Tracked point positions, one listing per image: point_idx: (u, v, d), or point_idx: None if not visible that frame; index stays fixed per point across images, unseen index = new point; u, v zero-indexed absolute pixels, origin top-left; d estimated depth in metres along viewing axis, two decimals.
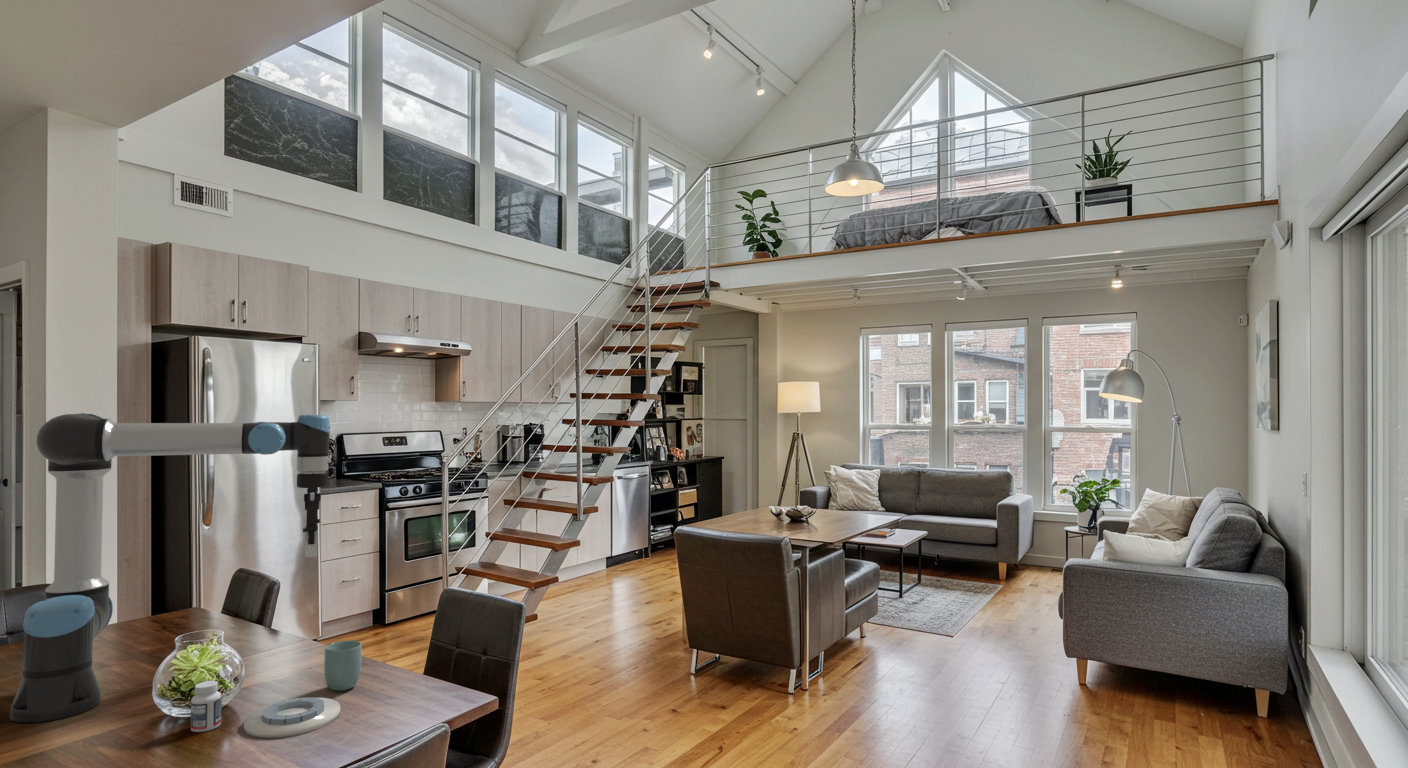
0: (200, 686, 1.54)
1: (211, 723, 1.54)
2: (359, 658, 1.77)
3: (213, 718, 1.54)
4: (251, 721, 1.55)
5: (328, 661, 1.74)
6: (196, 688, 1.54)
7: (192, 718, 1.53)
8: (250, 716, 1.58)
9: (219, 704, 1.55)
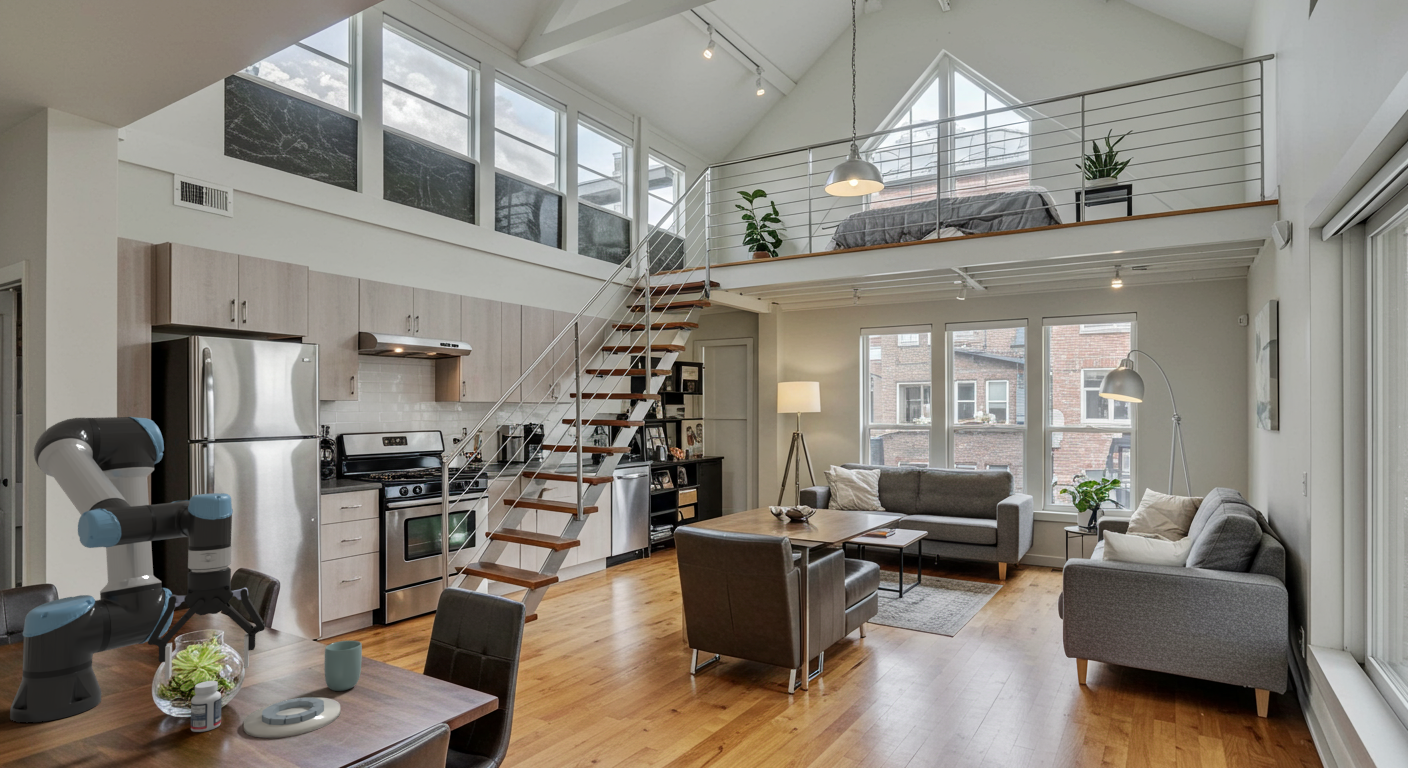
0: (200, 686, 1.54)
1: (211, 723, 1.54)
2: (359, 658, 1.77)
3: (213, 718, 1.54)
4: (251, 721, 1.55)
5: (328, 661, 1.74)
6: (196, 688, 1.54)
7: (192, 718, 1.53)
8: (250, 716, 1.58)
9: (219, 704, 1.55)
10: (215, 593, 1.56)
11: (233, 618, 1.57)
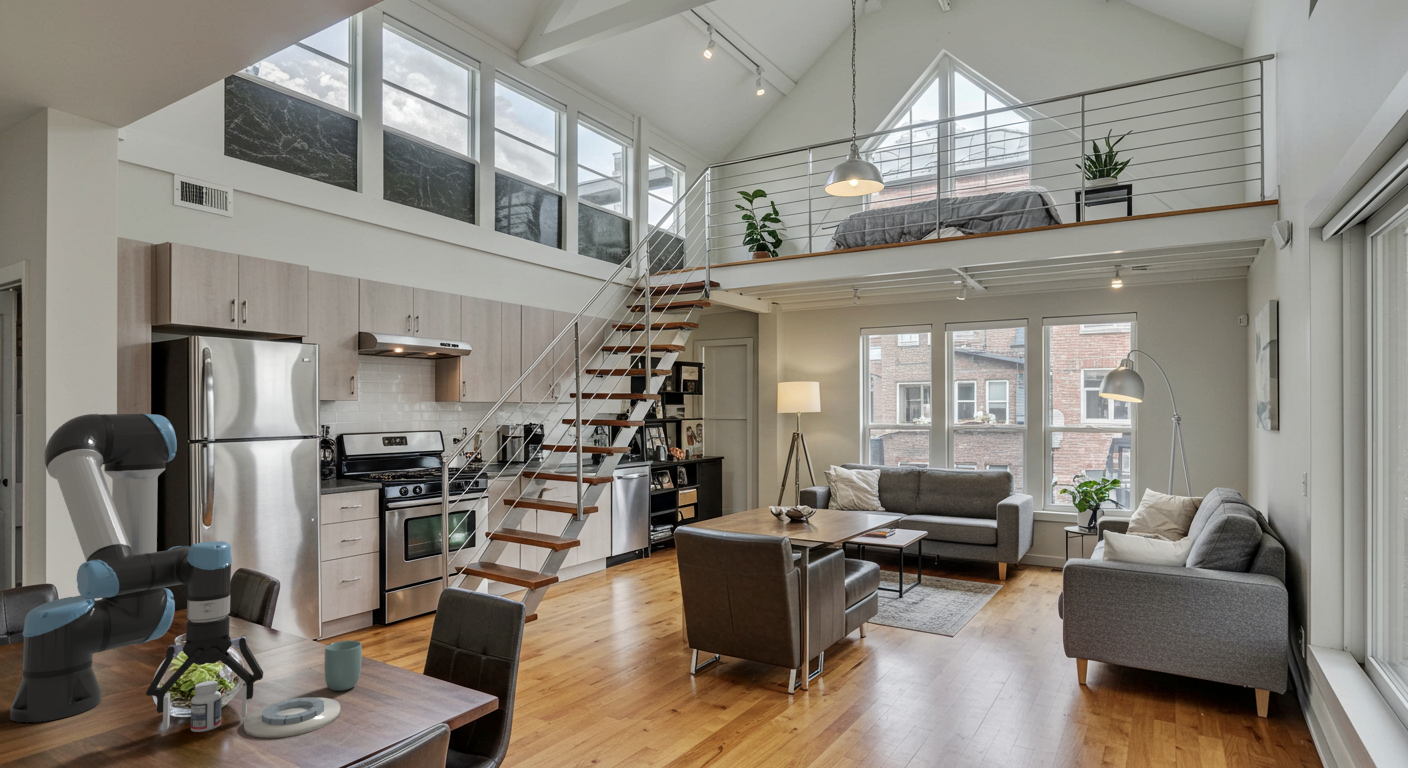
0: (200, 686, 1.54)
1: (211, 723, 1.54)
2: (359, 658, 1.77)
3: (213, 718, 1.54)
4: (251, 721, 1.55)
5: (328, 661, 1.74)
6: (196, 688, 1.54)
7: (192, 718, 1.53)
8: (250, 716, 1.58)
9: (219, 704, 1.55)
10: (214, 642, 1.55)
11: (231, 667, 1.56)
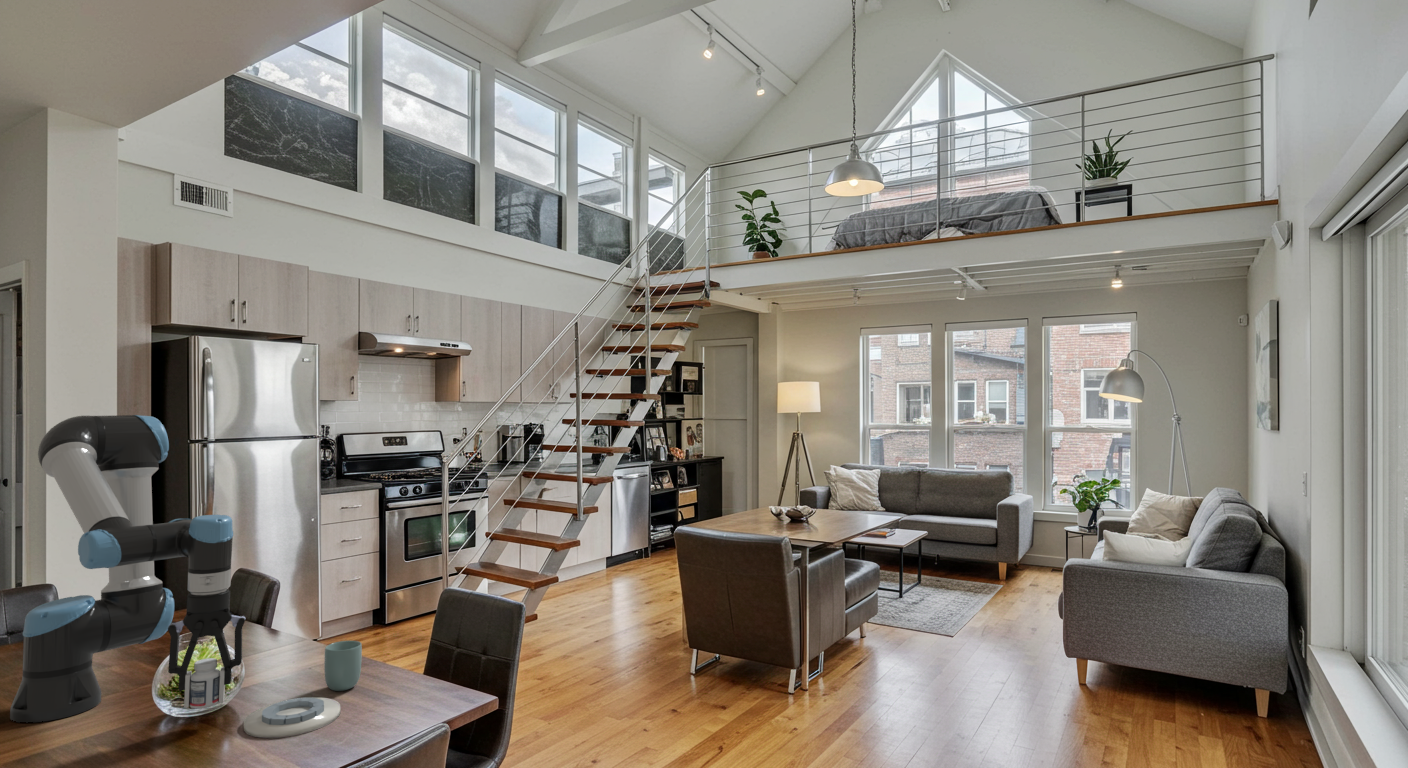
0: (199, 663, 1.54)
1: (210, 700, 1.54)
2: (359, 658, 1.77)
3: (212, 695, 1.55)
4: (251, 721, 1.55)
5: (328, 661, 1.74)
6: (195, 665, 1.54)
7: (191, 695, 1.53)
8: (250, 716, 1.58)
9: (218, 681, 1.56)
10: (217, 612, 1.56)
11: (219, 646, 1.56)
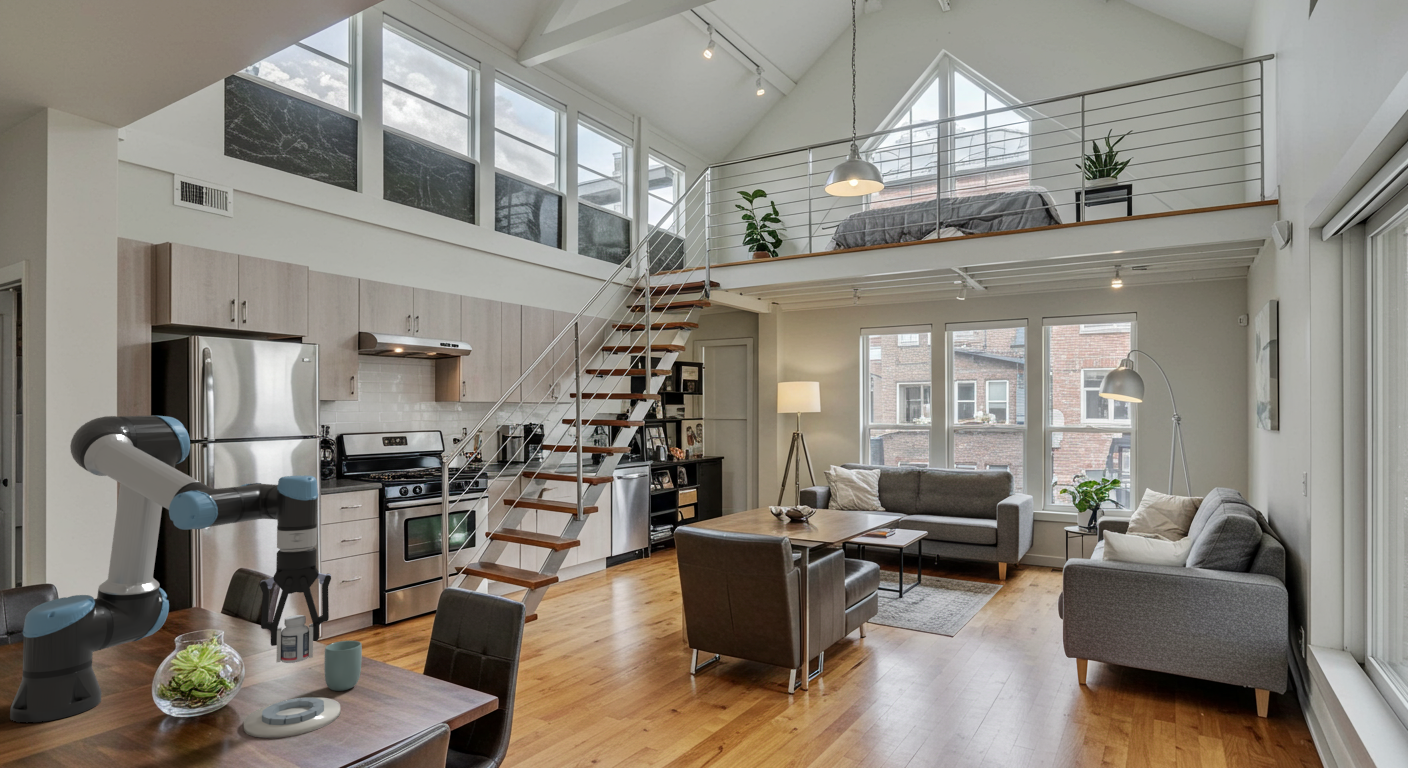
0: (289, 619, 1.58)
1: (300, 654, 1.58)
2: (359, 658, 1.77)
3: (303, 650, 1.58)
4: (251, 721, 1.55)
5: (328, 661, 1.74)
6: (286, 620, 1.58)
7: (283, 649, 1.57)
8: (250, 716, 1.58)
9: (307, 636, 1.60)
10: (305, 569, 1.60)
11: (308, 602, 1.60)
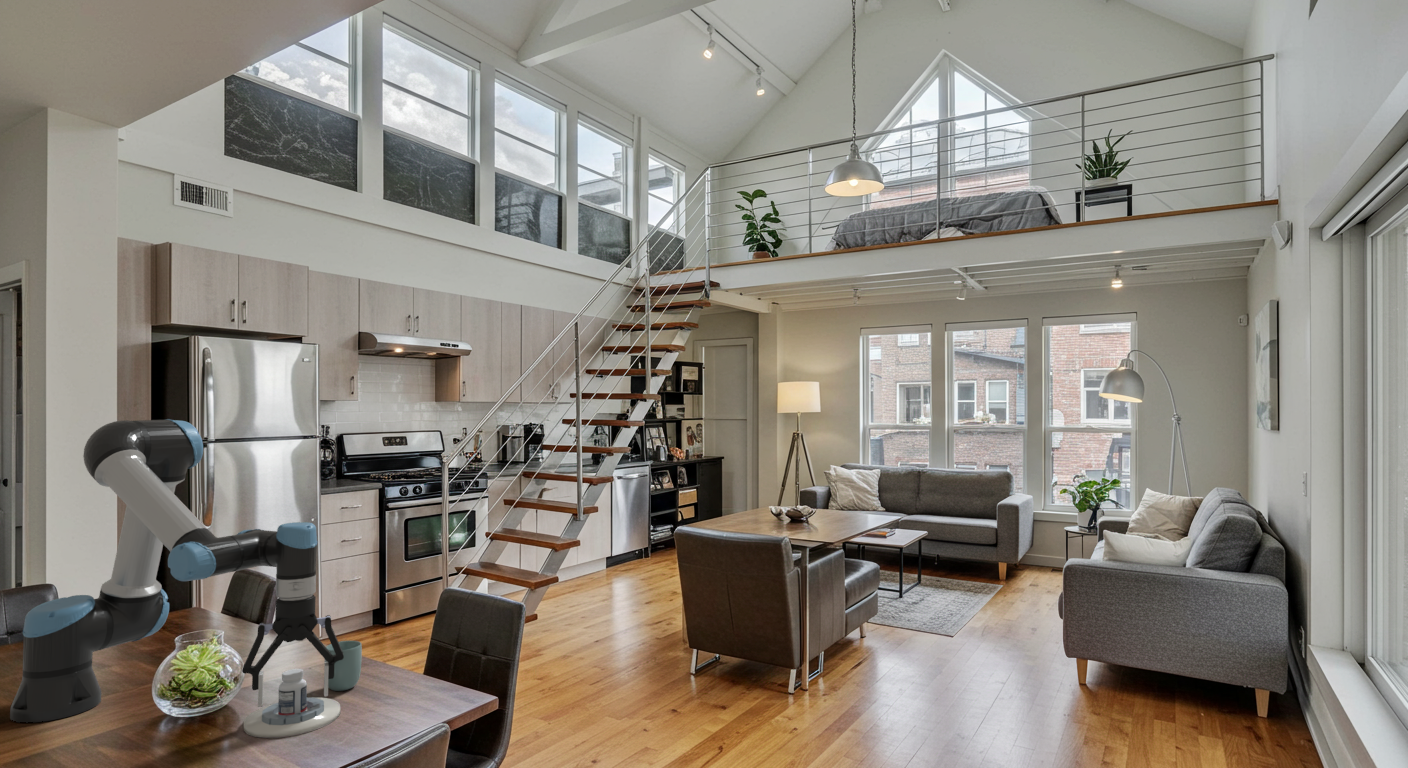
0: (287, 673, 1.58)
1: (298, 709, 1.57)
2: (359, 658, 1.77)
3: (300, 704, 1.58)
4: (251, 721, 1.55)
5: None
6: (284, 675, 1.57)
7: (280, 705, 1.57)
8: (250, 716, 1.58)
9: (305, 691, 1.59)
10: (301, 620, 1.59)
11: (316, 646, 1.60)
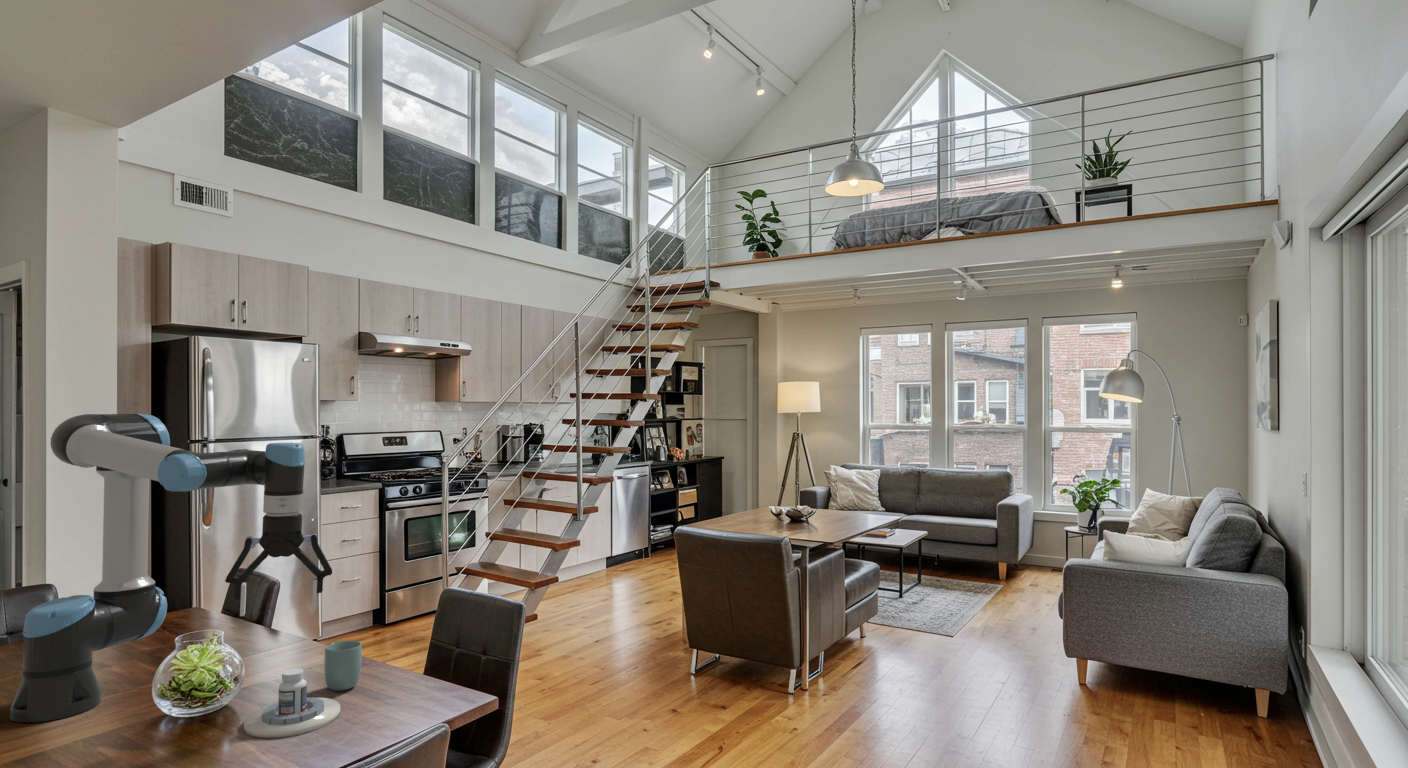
0: (287, 673, 1.58)
1: (298, 709, 1.57)
2: (359, 658, 1.77)
3: (300, 704, 1.58)
4: (251, 721, 1.55)
5: (328, 661, 1.74)
6: (284, 675, 1.57)
7: (280, 705, 1.57)
8: (250, 716, 1.58)
9: (305, 691, 1.59)
10: (288, 537, 1.63)
11: (303, 562, 1.64)
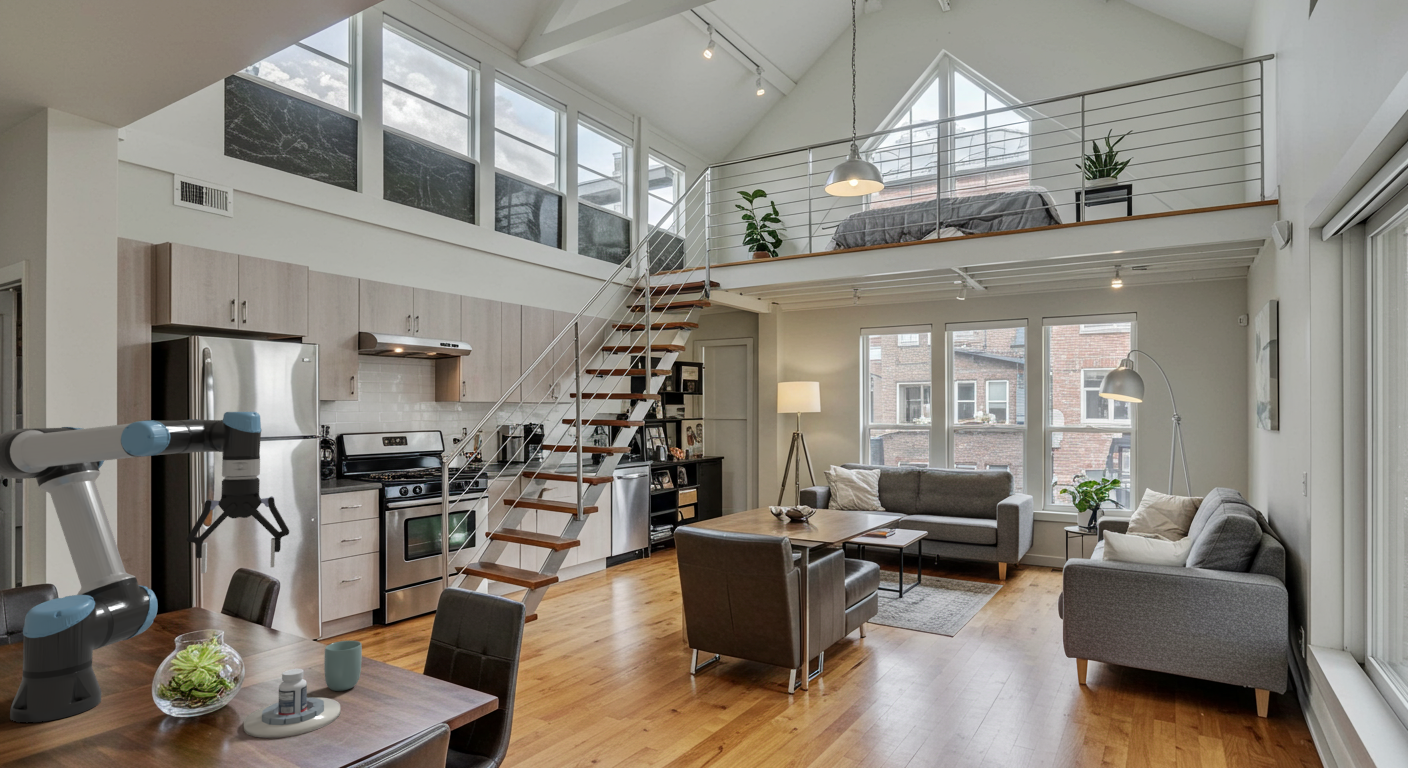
0: (287, 673, 1.58)
1: (298, 709, 1.57)
2: (359, 658, 1.77)
3: (300, 704, 1.58)
4: (251, 721, 1.55)
5: (328, 661, 1.74)
6: (284, 675, 1.57)
7: (280, 705, 1.57)
8: (250, 716, 1.58)
9: (305, 691, 1.59)
10: (246, 499, 1.74)
11: (261, 522, 1.75)
